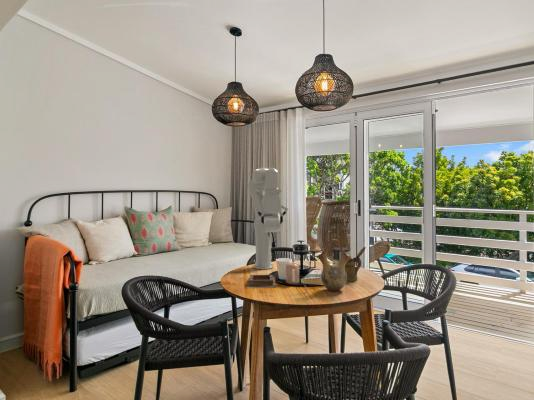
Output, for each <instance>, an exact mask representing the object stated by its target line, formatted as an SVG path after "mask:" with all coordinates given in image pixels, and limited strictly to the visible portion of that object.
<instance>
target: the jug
mask: <svg viewBox="0 0 534 400" xmlns="http://www.w3.org/2000/svg"><path fill="white" fill-rule="evenodd" d="M285 283H287V284H290V285H292V284H293V285H296V284H299V283H300V264H299V263H295V262H289V263H285Z"/></svg>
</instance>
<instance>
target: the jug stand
mask: <svg viewBox="0 0 534 400" xmlns="http://www.w3.org/2000/svg"><path fill="white" fill-rule="evenodd" d="M249 276H250V277H248V280H247V286H246V289H276V288H277V286H276V279H275V276H274V275H273V274H250V275H249Z"/></svg>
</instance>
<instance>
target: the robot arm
mask: <svg viewBox="0 0 534 400" xmlns="http://www.w3.org/2000/svg"><path fill="white" fill-rule="evenodd" d="M279 175H280V174H279V171H278V170H277V169H276V168H275V167H258V168H257V169H254V170H253V171H252V179H251V180H249V181H248V186H247V187H248V193H249V195H250V197H251V199H252V202H253V210H254V215H255V219H254V221H253V227H254V233H255V264H253V268H254V270H255V269H256V270H270V269H273V268H274V264H272V248H271V247H272V241H271V237H270V236H269V235H268V234H267V233H278V232H281V231H282V229H283V227H282V226H283V222H284V216H285V215H286V214H287V212H288V211H289V208H287V207H285V206H283V205H282V201H281V200H282V199H281V195H280V194H281V193H282V190H280V187H279V181H280V180H279V179H280V176H279ZM261 192H264V194H262V193H261ZM282 209H283V210H284V211H283V212H282Z"/></svg>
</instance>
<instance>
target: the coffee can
mask: <svg viewBox="0 0 534 400" xmlns="http://www.w3.org/2000/svg"><path fill="white" fill-rule="evenodd" d="M341 247H342V249H343V251H344V252H345V253H346V254H347V255H349V256H350V257H351V248H350V247H346V246H341ZM340 260H341V252H340V248H339V246H336V247H335V246H334V247H332V264H337V263H338V262H339V261H340Z"/></svg>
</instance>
